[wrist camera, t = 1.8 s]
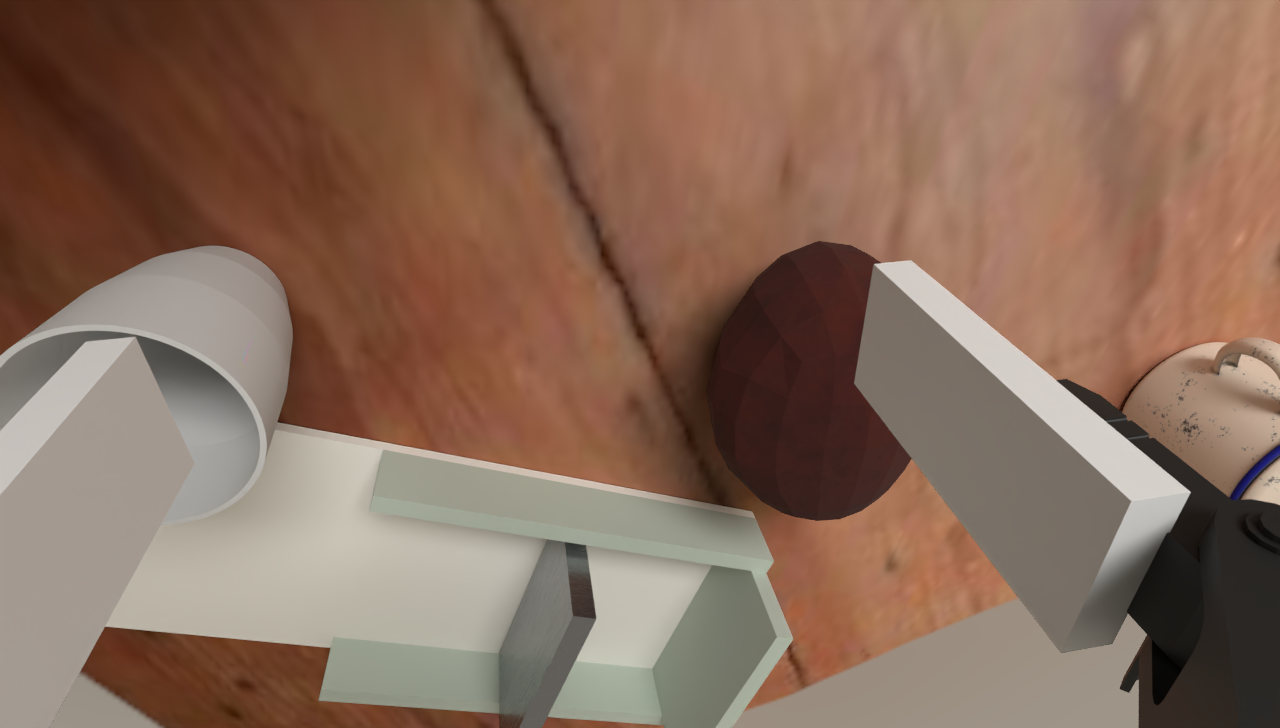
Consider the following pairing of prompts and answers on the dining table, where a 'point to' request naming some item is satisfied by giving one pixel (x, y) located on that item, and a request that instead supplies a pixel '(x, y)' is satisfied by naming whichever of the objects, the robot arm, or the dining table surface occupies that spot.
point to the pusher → (545, 635)
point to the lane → (469, 581)
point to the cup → (183, 360)
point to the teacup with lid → (1218, 414)
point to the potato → (803, 388)
